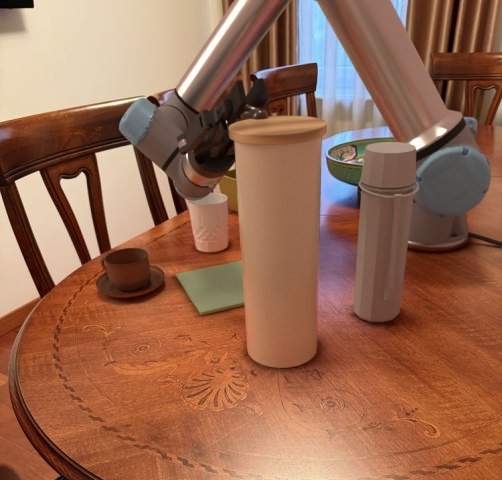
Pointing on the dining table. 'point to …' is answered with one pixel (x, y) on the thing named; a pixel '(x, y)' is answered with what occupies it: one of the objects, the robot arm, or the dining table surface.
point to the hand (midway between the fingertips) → (252, 90)
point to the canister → (280, 248)
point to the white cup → (210, 222)
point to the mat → (214, 287)
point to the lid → (274, 128)
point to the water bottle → (384, 228)
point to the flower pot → (230, 189)
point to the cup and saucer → (128, 274)
